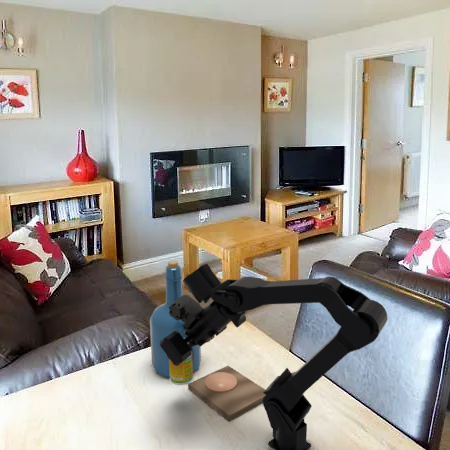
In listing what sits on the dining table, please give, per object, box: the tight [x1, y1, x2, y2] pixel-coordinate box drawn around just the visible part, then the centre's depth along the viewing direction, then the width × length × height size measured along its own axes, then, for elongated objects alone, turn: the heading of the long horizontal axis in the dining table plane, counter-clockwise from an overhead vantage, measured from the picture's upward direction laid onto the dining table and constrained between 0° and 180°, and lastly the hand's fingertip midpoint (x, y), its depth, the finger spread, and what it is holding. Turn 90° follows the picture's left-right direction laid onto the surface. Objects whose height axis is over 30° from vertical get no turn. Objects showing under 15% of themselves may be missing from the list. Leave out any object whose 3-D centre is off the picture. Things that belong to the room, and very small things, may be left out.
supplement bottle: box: [169, 338, 194, 386], centre depth 107 cm, size 5×5×10 cm
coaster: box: [205, 372, 237, 392], centre depth 115 cm, size 8×8×1 cm
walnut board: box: [187, 365, 266, 422], centre depth 113 cm, size 16×13×2 cm
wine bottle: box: [149, 260, 202, 379], centre depth 122 cm, size 14×13×30 cm
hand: (175, 351), depth 107 cm, fingers closed on supplement bottle, 5 cm apart
